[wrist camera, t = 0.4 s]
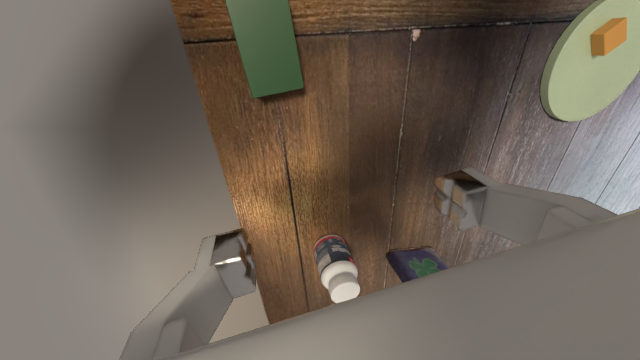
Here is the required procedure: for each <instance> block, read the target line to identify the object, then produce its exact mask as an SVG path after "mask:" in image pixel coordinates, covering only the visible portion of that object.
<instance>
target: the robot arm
mask: <svg viewBox="0 0 640 360" xmlns="http://www.w3.org/2000/svg"><path fill="white" fill-rule="evenodd" d="M435 187H436V188H437V190H436V191H435V193H434V198H433V201H434V204H435V207H436V208H437V210H438V211H439V212H440V213H441V214H442V215H445V216H448V217H449V221H450V222H451V223H452V224H453V225H454V226H455V227H456V228H457V229H458V230H459V231H462V230H465V229H469V228H473V227H477V226H479V227H481V228H483V229H486V230H488V231H490V232H493V233H495V234H497V235H500V236H502V237H504V238H507V239H509V240H511V241H514V242H516V243H519V244H521V245H522V246H518V247H515V248H512V249H509V250H506V251H503V252H499V253H496V254H493V255H490V256H487V257H483V258H480V259H477V260H474V261H471V262H467V263H464V264H461V265H458V266H455V267H451V268H448V269H445V270H442V271H439V272H435V273H432V274H429V275H426V276H423V277H420V278H416V279H413V280H410V281H407V282H404V283H401V284H397V285H394V286H391V287H388V288H385V289H381V290H378V291H375V292H372V293H369V294H366V295H362V296H359V297H356V298H353V299H350V300H346V301H343V302H340V303H337V304H334V305H331V306H327V307H324V308H321V309H318V310H315V311H311V312H308V313H305V314H302V315H299V316H296V317H292V318H289V319H286V320H283V321H280V322H276V323H273V324H270V325H267V326H264V327H261V328H257V329H254V330H251V331H248V332H245V333H242V334H238V335H235V336H232V337H229V338H226V339H222V340H219V341H216V342H213V343H210V344H208V343H209V341H210V339H211V338H212V336H213V334H214V333H215V331H216V329H217V327H218V326H219V324H220V322H221V320H222V319H223V317H224V315H225V313H226V311H227V310H228V308H229V306H230V305H231V303H232V301H233V299H234V298H237V297H240V296H243V295H246V294H249V293H253V292H255V291H256V276H255V274H254V269H255V268H256V261H255V254H254V251H253V248H252V245H251V244H250V243H248V235H247V233H246V231H245V229H244V228H241V229H237V230H233V231H229V232H225V233H220V234H217V235H213V236H209V237H205V238H203V239H202V241H201V245H200V249H199V252H198V256H197V260H196V263H195V267H194V270H193V271H190V272H188V274H187V275H186V276H185V277H184V278H183V279H182V280H181V281H180V282H179V283H178V284H177V285H176V286H175V287H174V288H173V289H172V290H171V291H170V292H169V293H168V295H166V296H165V297H164V298H163V300H162V301H161V302H160V303H159V304H158V305H157V306H156V307H155V308H154V309H153V310H152V311H151V312H150V313H149V314H148V315H147V316H146V317H145V318H144V319H143V320H142V321H141V322H140V323H139V324H138V326H136V327H135V329H134V330H133V331H132V332H131V333H130V336H129V338H128V340H127V343H126V345H125V348H124V350H123V352H122V354H121V356H120V359H119V360H640V208H639V209H636V210H633V211H630V212H626V213H623V214H620V215H617V214H615V213H613V212H611V211H609V210H607V209H604V208H602V207H600V206H598V205H596V204H594V203H592V202H590V201H588V200H585V199H583V198H580V197H575V196H569V195H564V194H559V193H554V192H549V191H544V190H538V189H533V188H528V187H523V186H518V185H512V184H507V183H505V184H501V183H500V182H498V181H496V180H494V179H493V178H491V177H489V176H487V175H485V174H484V173H482V172H480V171H478V170H477V169H475V168H472V167H468V168H465V169H462V170H459V171H456V172H452V173H449V174H445V175H441V176H438V177H436V179H435Z"/></svg>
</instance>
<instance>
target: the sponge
mask: <svg viewBox="0 0 640 360" xmlns="http://www.w3.org/2000/svg"><path fill="white" fill-rule="evenodd" d="M225 2H226V6H227V10H228V13H229V17H230V20H231V24H232V27H233V31H234V34H235V38H236V41H237V45H238V48H239V52H240V55H241V59H242V62H243V66H244V70H245V73H246V77H247V80H248V84H249V87H250V91H251V94H252V98H258V97H263V96H268V95H273V94H278V93H283V92H287V91H292V90H297V89H302V88H304V84H303V79H302V73H301V67H300V62H299V56H298V51H297V45H296V39H295V34H294V28H293V23H292V17H291V11H290V6H289V0H225Z"/></svg>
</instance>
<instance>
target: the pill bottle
mask: <svg viewBox="0 0 640 360" xmlns="http://www.w3.org/2000/svg"><path fill="white" fill-rule="evenodd" d="M313 251H314V256H315V260H316V264H317V267H318V271H319V275H320V278H321V281H322V284H323V285H324V286H325V287H326V288H327V289H329V293H330V296H331V299H332V300H333V301H334V302H336V303H340V302H343V301H346V300H350V299H353V298H356V297H357V296H358V294H359V292H360V287H359V284H358V282H357V279H356V278H357V275H358V271H357V268H356V265H355V263H354V261H353V259H352V257H351V254H350V252H349V250H348V248H347V245H346V243H345V241H344V239H343V238H342V237H340V236H338V235H333V234H332V235H326V236H324V237H322V238H320V239H319V240H318V241H317V242H316V243H315V245H314V249H313Z"/></svg>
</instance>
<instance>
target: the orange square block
mask: <svg viewBox="0 0 640 360" xmlns="http://www.w3.org/2000/svg"><path fill="white" fill-rule="evenodd" d="M626 40H627V17H623V18H612V19H611V20H609V21H608V22H607V23H605V24H604V25H603V26H601V27H600V28H599V29H597V30H596V31H595V32H593V33H592V34H591V53H592V55H596V56H605V55H607V54H608V53H609V52H611V51H612V50H613V49H615V48H616V47H617V46H619V45H620V44H622V43H623V42H624V41H626Z"/></svg>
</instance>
